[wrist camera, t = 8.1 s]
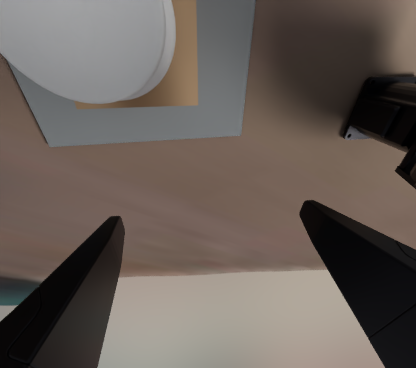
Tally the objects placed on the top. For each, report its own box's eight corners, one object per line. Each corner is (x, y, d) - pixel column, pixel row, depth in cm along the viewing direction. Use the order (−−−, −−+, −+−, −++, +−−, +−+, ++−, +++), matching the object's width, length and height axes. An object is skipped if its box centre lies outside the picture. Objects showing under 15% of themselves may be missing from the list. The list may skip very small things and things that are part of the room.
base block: (186, -39, 12) (194, -71, 9) (191, 95, 17) (198, 105, 14) (50, -50, 11) (3, -92, 8) (94, 97, 16) (76, 109, 12)
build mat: (261, -76, 12) (264, -79, 12) (239, 134, 20) (240, 135, 20) (-75, -117, 10) (-83, -122, 9) (51, 145, 18) (49, 147, 17)
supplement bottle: (59, 7, 10) (-180, -93, 3) (135, -50, 9) (50, -337, 2) (124, 96, 13) (77, 148, 6) (186, 56, 12) (214, 62, 5)
